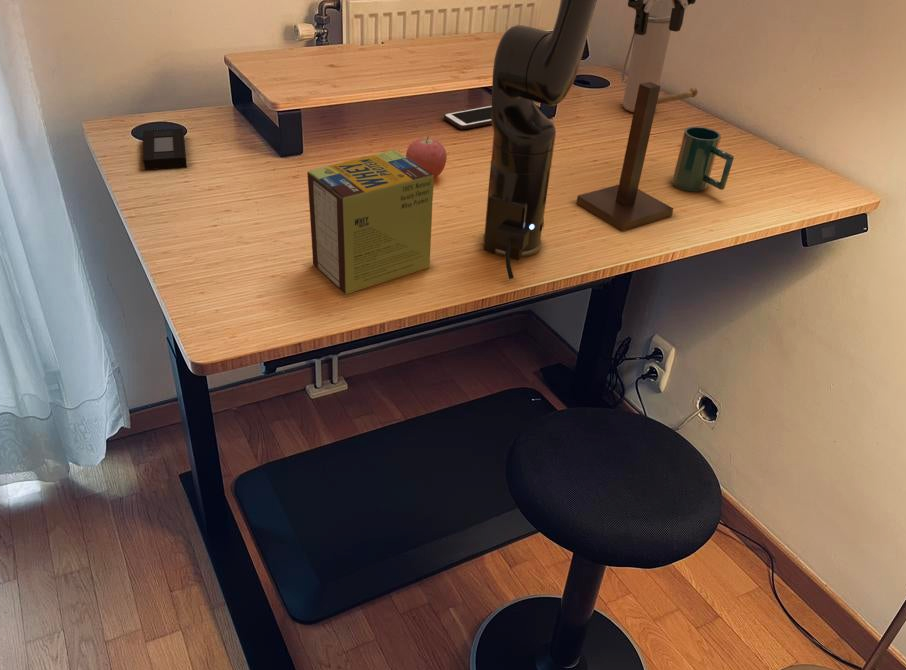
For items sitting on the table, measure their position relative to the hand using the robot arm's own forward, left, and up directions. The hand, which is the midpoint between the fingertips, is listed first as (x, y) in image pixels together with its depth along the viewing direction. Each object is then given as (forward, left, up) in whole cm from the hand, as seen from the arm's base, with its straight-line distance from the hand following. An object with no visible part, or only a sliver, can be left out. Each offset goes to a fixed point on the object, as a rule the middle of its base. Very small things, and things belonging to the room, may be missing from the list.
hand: (657, 32), depth 142 cm
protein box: (-62, +23, -25) cm, 71 cm away
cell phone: (+4, +35, -25) cm, 43 cm away
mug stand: (-19, -7, -25) cm, 32 cm away
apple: (-29, +31, -25) cm, 49 cm away
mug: (-5, -15, -25) cm, 29 cm away
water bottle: (+31, +8, -25) cm, 40 cm away
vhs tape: (-47, +79, -25) cm, 95 cm away
